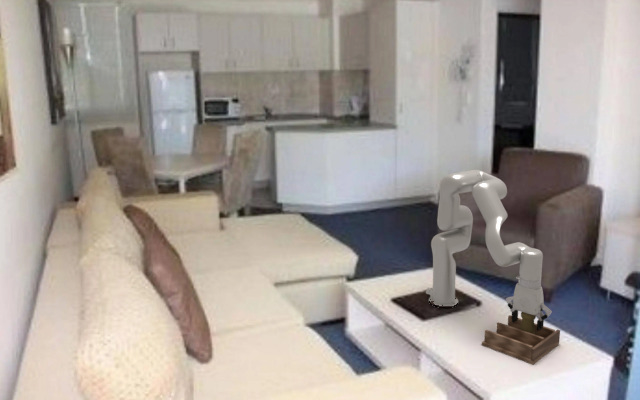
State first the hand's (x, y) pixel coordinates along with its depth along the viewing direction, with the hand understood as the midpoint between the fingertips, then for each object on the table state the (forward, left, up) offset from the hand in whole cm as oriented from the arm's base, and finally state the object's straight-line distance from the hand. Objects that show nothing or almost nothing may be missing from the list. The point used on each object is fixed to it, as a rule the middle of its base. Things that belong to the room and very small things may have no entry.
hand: (526, 325), depth 212 cm
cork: (0, 0, -5) cm, 5 cm away
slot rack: (0, -4, -6) cm, 8 cm away
